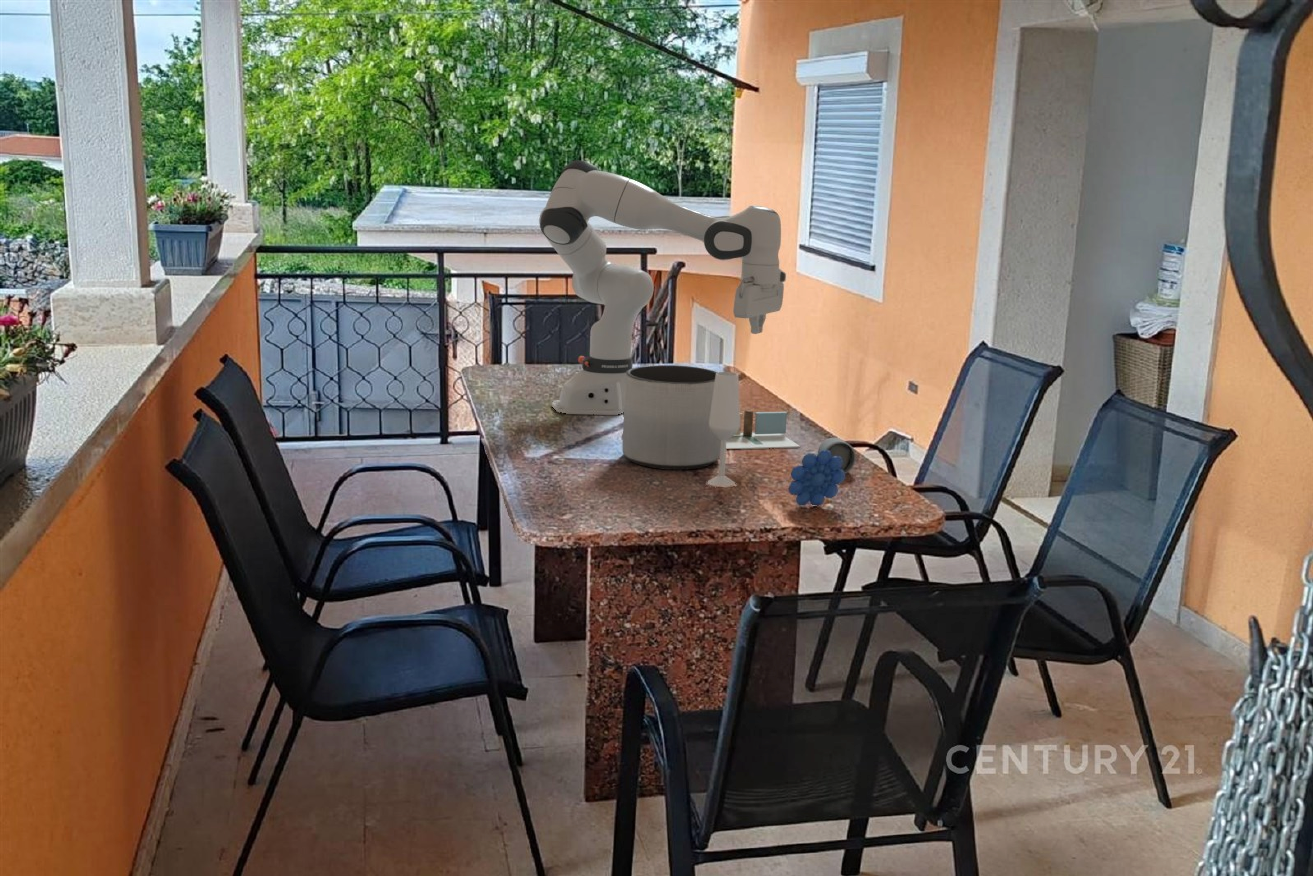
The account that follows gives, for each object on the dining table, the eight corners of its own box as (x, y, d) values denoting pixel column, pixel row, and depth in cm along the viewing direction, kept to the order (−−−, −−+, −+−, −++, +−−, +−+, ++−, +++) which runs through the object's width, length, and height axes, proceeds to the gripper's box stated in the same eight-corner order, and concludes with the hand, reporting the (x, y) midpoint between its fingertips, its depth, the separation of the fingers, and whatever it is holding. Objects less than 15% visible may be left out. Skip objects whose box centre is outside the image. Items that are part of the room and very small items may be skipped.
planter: (635, 473, 268) (639, 383, 264) (612, 448, 290) (614, 365, 285) (733, 470, 274) (737, 382, 270) (702, 445, 296) (706, 364, 291)
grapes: (836, 500, 254) (840, 444, 251) (846, 509, 247) (850, 452, 244) (782, 500, 252) (785, 444, 249) (790, 510, 245) (794, 452, 243)
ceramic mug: (846, 466, 282) (848, 433, 280) (855, 475, 274) (857, 442, 272) (801, 466, 281) (802, 433, 279) (808, 475, 273) (810, 442, 271)
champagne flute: (711, 488, 259) (717, 377, 253) (701, 480, 265) (706, 371, 259) (741, 487, 260) (747, 376, 255) (730, 479, 267) (736, 370, 261)
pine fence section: (703, 439, 301) (704, 412, 300) (700, 437, 303) (701, 411, 302) (753, 438, 305) (754, 411, 303) (750, 436, 307) (751, 410, 305)
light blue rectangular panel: (755, 434, 305) (756, 413, 304) (754, 433, 306) (755, 412, 305) (786, 433, 307) (787, 412, 306) (784, 432, 308) (786, 411, 307)
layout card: (717, 450, 292) (717, 448, 291) (699, 435, 306) (699, 433, 306) (799, 447, 297) (800, 445, 297) (778, 433, 311) (778, 431, 311)
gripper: (753, 280, 281) (749, 339, 284) (789, 273, 298) (785, 330, 301) (728, 277, 284) (725, 336, 287) (765, 271, 301) (762, 327, 304)
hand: (756, 333), depth 294 cm, fingers closed
